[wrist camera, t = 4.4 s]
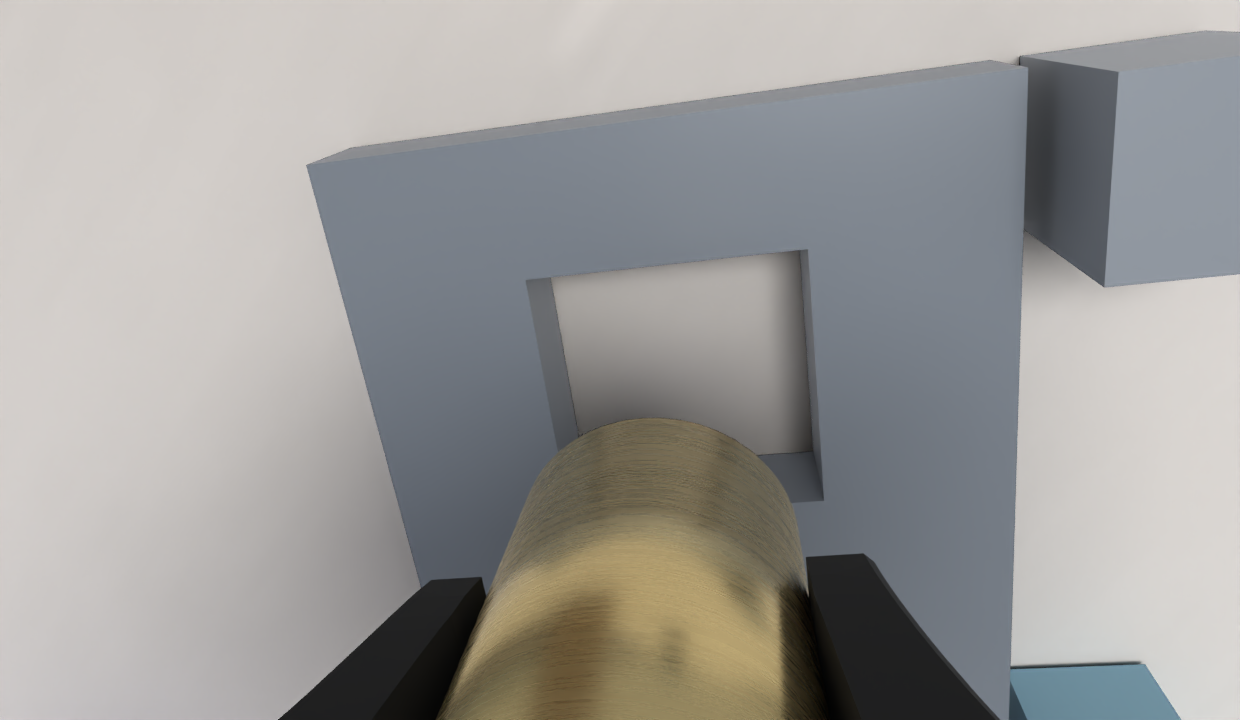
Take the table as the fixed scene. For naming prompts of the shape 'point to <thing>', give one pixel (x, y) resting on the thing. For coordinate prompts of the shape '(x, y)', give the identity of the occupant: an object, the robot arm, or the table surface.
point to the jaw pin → (647, 590)
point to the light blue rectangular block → (1088, 694)
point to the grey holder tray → (831, 282)
